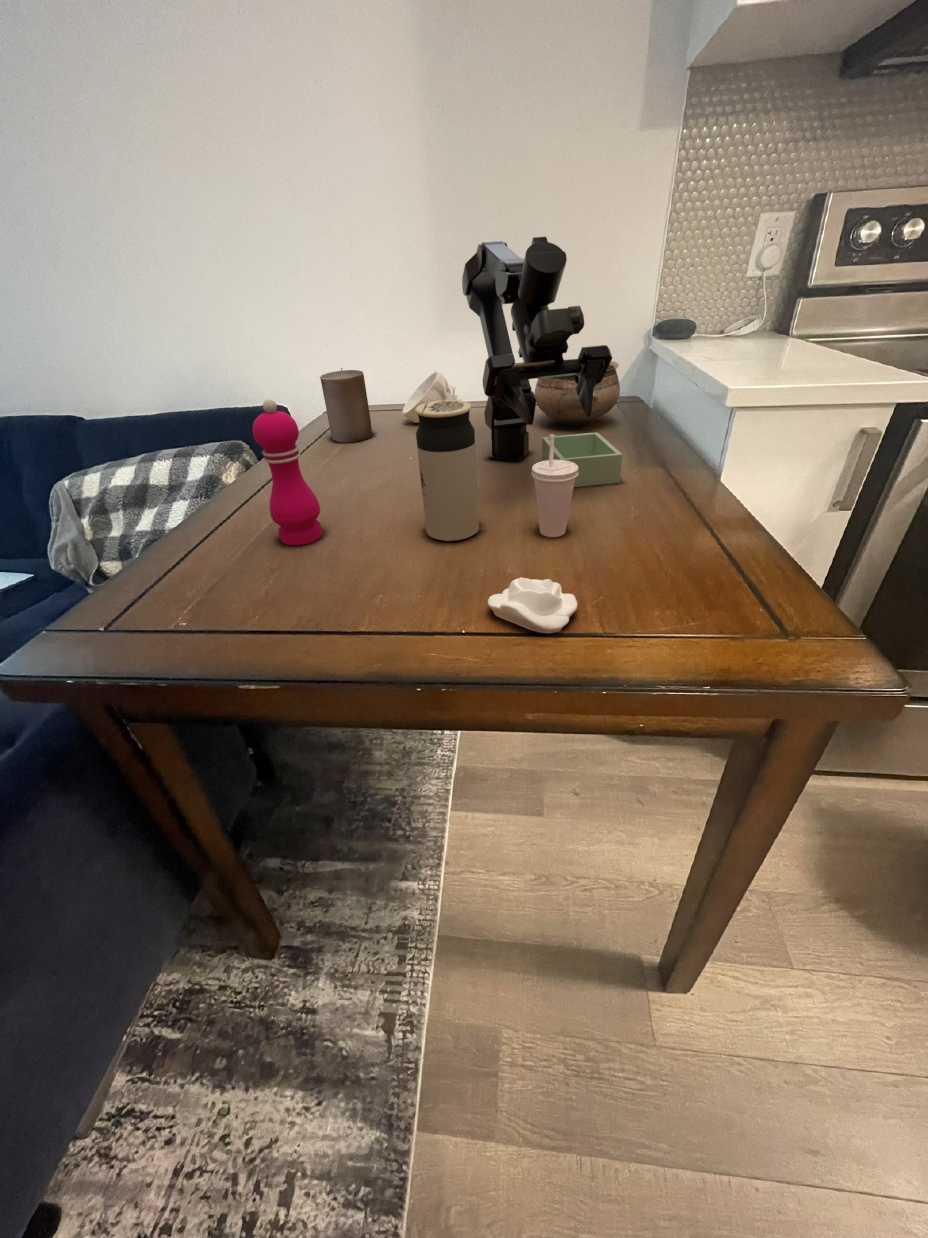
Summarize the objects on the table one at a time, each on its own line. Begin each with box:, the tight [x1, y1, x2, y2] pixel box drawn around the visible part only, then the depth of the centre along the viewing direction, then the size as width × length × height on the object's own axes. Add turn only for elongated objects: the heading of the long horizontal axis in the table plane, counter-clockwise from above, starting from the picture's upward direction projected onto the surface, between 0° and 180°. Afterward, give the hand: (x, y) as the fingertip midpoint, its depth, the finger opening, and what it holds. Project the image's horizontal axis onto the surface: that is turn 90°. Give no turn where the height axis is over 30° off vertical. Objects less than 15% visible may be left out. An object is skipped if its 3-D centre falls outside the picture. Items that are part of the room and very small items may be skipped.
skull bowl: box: [401, 370, 463, 424], centre depth 134 cm, size 10×14×12 cm
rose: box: [487, 576, 578, 634], centre depth 61 cm, size 10×4×10 cm
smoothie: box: [531, 433, 579, 538], centre depth 76 cm, size 6×6×14 cm
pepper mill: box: [252, 398, 323, 546], centre depth 78 cm, size 7×7×20 cm
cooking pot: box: [534, 358, 621, 427], centre depth 123 cm, size 25×19×12 cm
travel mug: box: [415, 399, 480, 542], centre depth 77 cm, size 8×8×18 cm
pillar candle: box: [319, 367, 374, 443], centre depth 123 cm, size 10×10×15 cm
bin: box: [541, 431, 623, 488], centre depth 98 cm, size 14×11×5 cm
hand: (559, 418), depth 79 cm, fingers open, 9 cm apart
